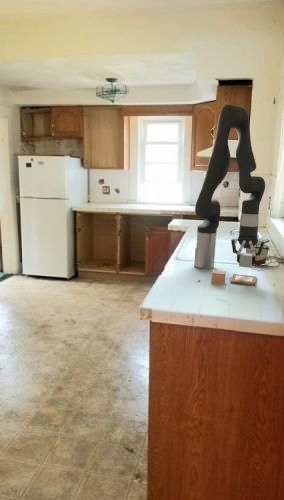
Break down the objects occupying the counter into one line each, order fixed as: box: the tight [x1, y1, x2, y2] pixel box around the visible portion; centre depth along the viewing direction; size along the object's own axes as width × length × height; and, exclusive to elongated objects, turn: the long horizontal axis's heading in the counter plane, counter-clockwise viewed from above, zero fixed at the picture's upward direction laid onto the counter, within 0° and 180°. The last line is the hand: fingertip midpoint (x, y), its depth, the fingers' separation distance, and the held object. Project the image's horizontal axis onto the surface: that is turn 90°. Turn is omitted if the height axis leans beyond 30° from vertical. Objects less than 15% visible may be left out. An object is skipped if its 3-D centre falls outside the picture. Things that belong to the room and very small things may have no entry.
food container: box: [245, 243, 271, 265], centre depth 193 cm, size 12×6×10 cm, turn 84°
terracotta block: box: [210, 269, 226, 286], centre depth 158 cm, size 5×5×5 cm
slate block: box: [238, 252, 253, 269], centre depth 161 cm, size 5×5×5 cm
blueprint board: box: [230, 273, 257, 287], centre depth 163 cm, size 10×12×1 cm
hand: (245, 263), depth 161 cm, fingers closed on slate block, 5 cm apart
